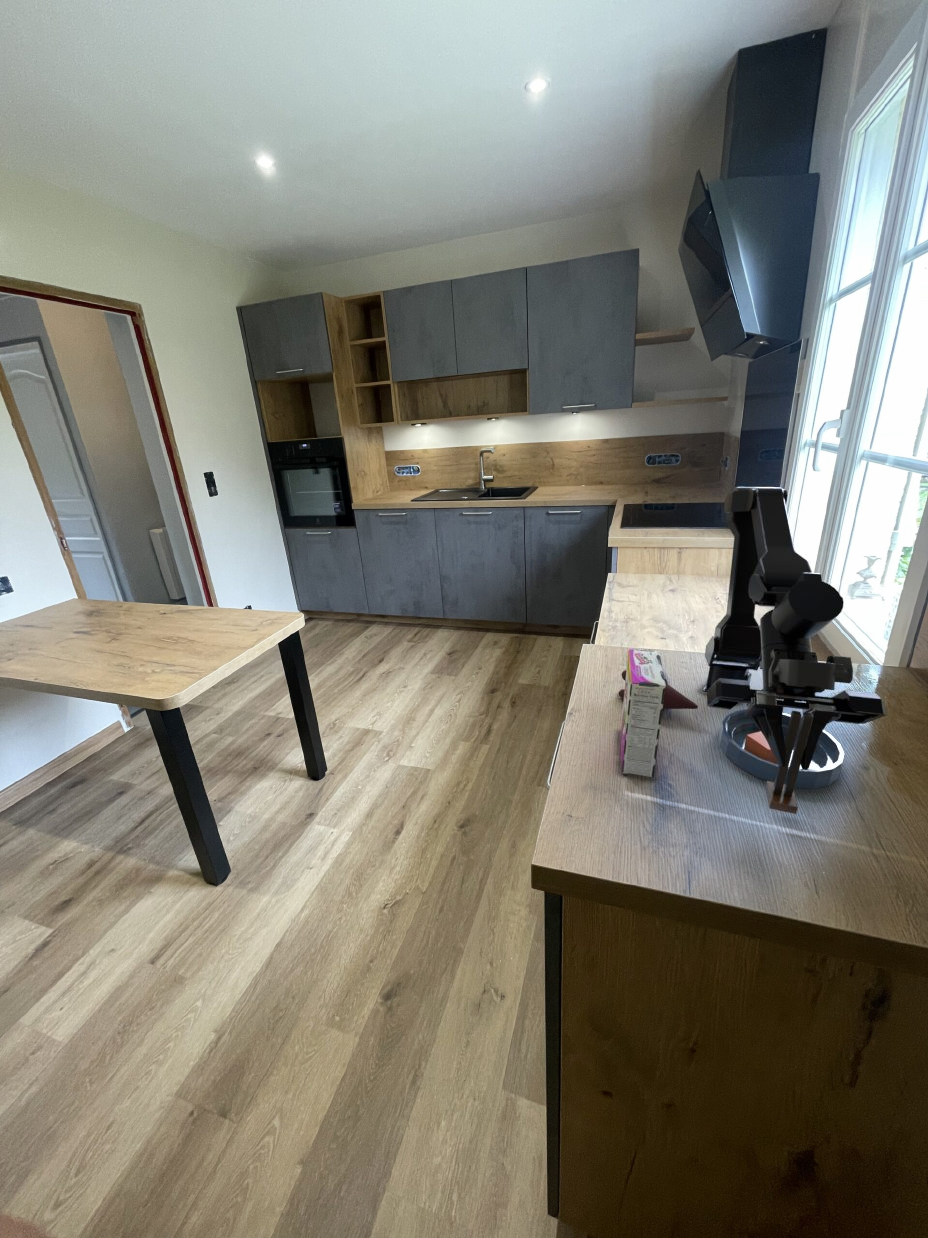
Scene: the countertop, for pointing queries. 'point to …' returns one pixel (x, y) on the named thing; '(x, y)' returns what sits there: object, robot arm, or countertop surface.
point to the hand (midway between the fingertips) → (793, 768)
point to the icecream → (669, 697)
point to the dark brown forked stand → (783, 793)
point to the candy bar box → (642, 712)
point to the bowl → (818, 774)
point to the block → (759, 747)
